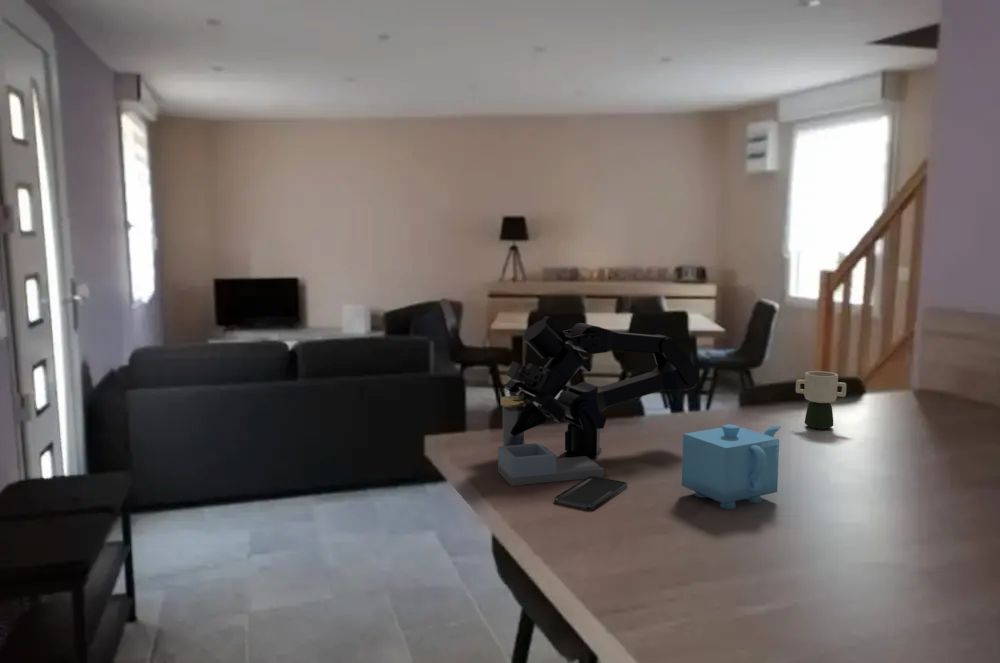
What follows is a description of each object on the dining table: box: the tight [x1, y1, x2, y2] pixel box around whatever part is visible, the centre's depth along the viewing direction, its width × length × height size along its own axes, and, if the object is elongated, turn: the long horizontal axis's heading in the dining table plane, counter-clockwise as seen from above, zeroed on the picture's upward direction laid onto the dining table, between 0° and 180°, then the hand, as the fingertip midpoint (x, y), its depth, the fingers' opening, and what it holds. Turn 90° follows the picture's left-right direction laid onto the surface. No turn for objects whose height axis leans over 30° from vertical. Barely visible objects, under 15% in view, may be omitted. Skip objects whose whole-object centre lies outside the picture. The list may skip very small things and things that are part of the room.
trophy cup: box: [795, 370, 847, 429], centre depth 180 cm, size 11×7×13 cm, turn 65°
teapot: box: [681, 423, 782, 510], centre depth 135 cm, size 18×16×13 cm
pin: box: [500, 395, 527, 446], centre depth 154 cm, size 5×5×13 cm
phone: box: [554, 476, 628, 512], centre depth 136 cm, size 8×1×15 cm
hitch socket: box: [497, 442, 605, 487], centre depth 148 cm, size 18×9×5 cm, turn 106°
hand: (507, 431), depth 154 cm, fingers closed on pin, 4 cm apart
